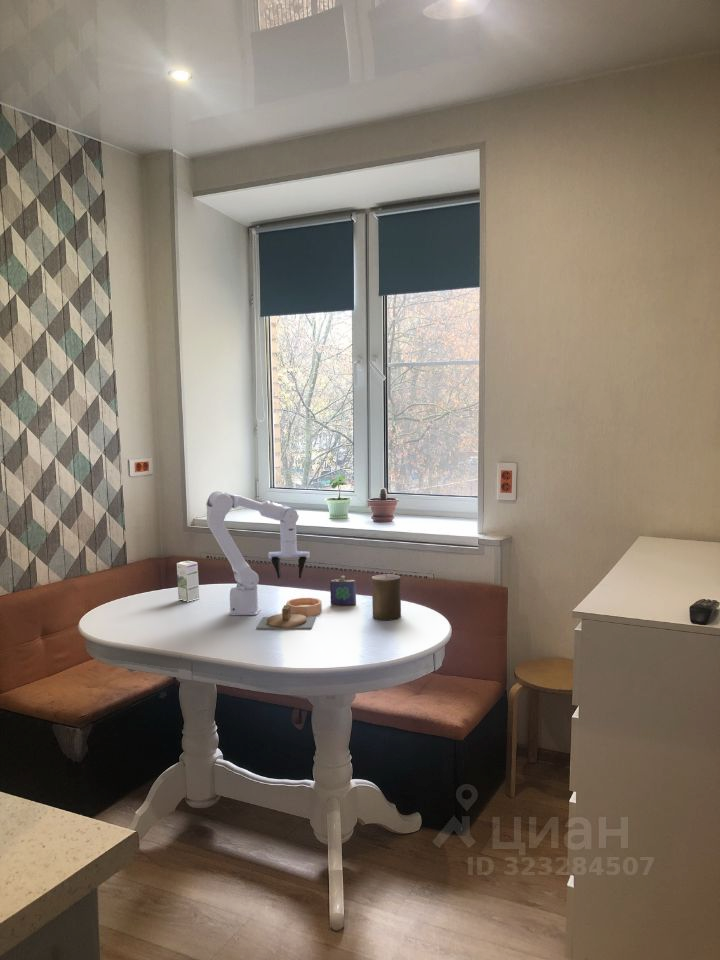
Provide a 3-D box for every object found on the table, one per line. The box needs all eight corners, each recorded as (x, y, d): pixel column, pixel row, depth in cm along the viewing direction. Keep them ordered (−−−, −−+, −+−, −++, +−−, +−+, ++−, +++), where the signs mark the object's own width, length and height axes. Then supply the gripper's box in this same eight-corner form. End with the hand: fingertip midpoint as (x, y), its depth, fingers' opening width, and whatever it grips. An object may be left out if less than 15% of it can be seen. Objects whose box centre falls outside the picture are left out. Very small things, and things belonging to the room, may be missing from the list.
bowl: (284, 616, 249) (284, 606, 249) (289, 607, 261) (289, 597, 261) (319, 616, 249) (319, 606, 248) (323, 607, 260) (322, 597, 260)
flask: (356, 603, 264) (355, 574, 263) (355, 605, 261) (355, 576, 260) (330, 603, 265) (330, 575, 264) (330, 606, 262) (329, 577, 261)
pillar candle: (400, 620, 242) (399, 576, 240) (370, 620, 243) (370, 576, 242) (401, 613, 251) (401, 570, 250) (373, 612, 253) (373, 569, 251)
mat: (256, 629, 236) (256, 627, 236) (263, 618, 248) (263, 617, 248) (311, 629, 235) (311, 627, 235) (315, 618, 247) (315, 616, 247)
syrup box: (200, 599, 275) (198, 561, 274) (187, 602, 270) (185, 564, 269) (190, 597, 279) (188, 559, 277) (177, 600, 274) (176, 562, 272)
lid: (263, 627, 235) (263, 612, 235) (270, 616, 248) (270, 602, 248) (303, 627, 235) (303, 612, 234) (308, 616, 248) (308, 601, 247)
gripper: (266, 542, 257) (267, 580, 259) (307, 542, 256) (308, 580, 258) (270, 539, 264) (271, 575, 266) (309, 538, 263) (310, 575, 265)
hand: (289, 577), depth 262 cm, fingers open, 7 cm apart
